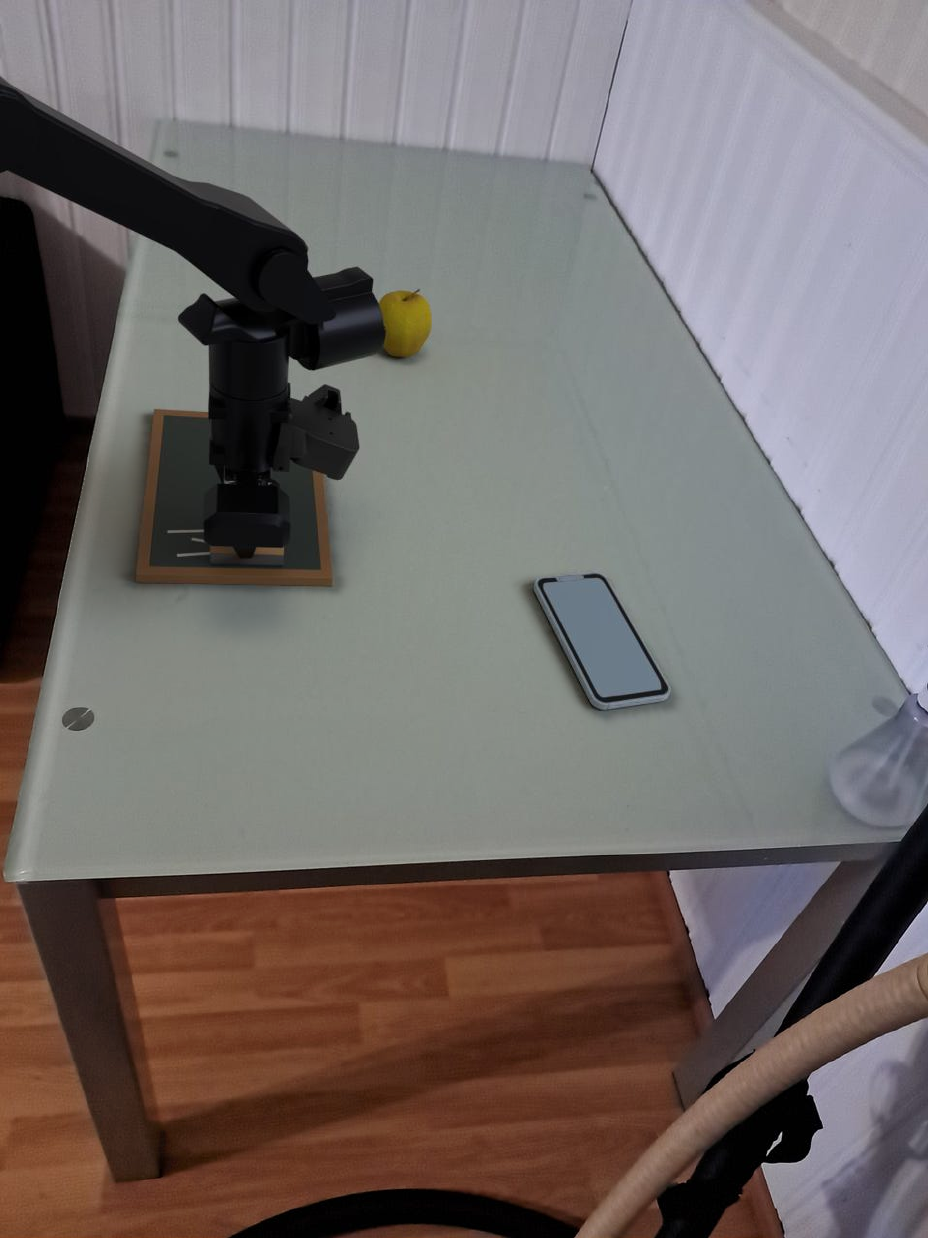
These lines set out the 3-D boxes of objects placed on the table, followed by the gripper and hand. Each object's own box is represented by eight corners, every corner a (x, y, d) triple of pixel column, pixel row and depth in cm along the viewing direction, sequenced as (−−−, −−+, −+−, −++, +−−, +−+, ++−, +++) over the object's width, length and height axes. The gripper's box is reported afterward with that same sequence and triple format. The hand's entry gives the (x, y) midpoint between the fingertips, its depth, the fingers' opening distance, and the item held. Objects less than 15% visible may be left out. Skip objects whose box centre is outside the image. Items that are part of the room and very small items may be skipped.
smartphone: (596, 706, 77) (531, 577, 86) (593, 713, 77) (529, 584, 87) (675, 694, 79) (603, 570, 89) (672, 701, 80) (601, 577, 89)
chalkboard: (136, 582, 79) (135, 573, 78) (154, 416, 95) (154, 408, 94) (332, 586, 83) (333, 577, 82) (316, 426, 99) (317, 417, 98)
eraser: (210, 564, 80) (209, 527, 78) (211, 533, 83) (210, 496, 80) (283, 565, 82) (285, 529, 79) (281, 535, 84) (283, 499, 82)
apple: (436, 354, 114) (447, 290, 108) (405, 373, 109) (414, 308, 104) (393, 332, 116) (401, 269, 110) (360, 350, 111) (368, 285, 106)
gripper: (368, 459, 66) (348, 619, 77) (348, 325, 79) (334, 478, 90) (201, 451, 64) (205, 617, 75) (209, 314, 77) (211, 473, 87)
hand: (245, 540), depth 82 cm, fingers closed on eraser, 4 cm apart
